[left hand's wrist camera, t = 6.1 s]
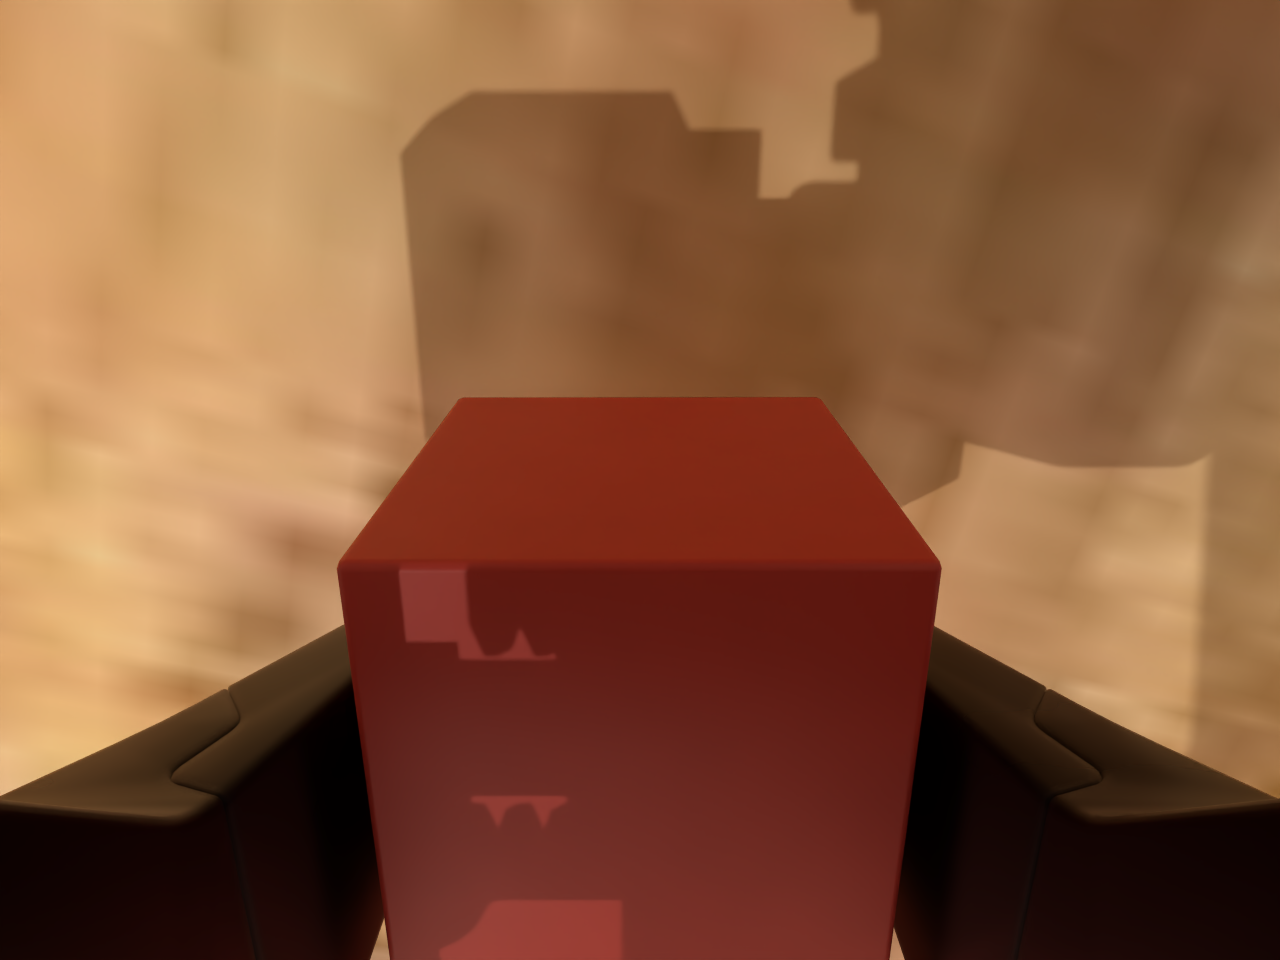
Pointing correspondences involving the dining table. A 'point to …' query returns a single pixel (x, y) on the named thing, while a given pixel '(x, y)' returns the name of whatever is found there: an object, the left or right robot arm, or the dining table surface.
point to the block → (639, 683)
